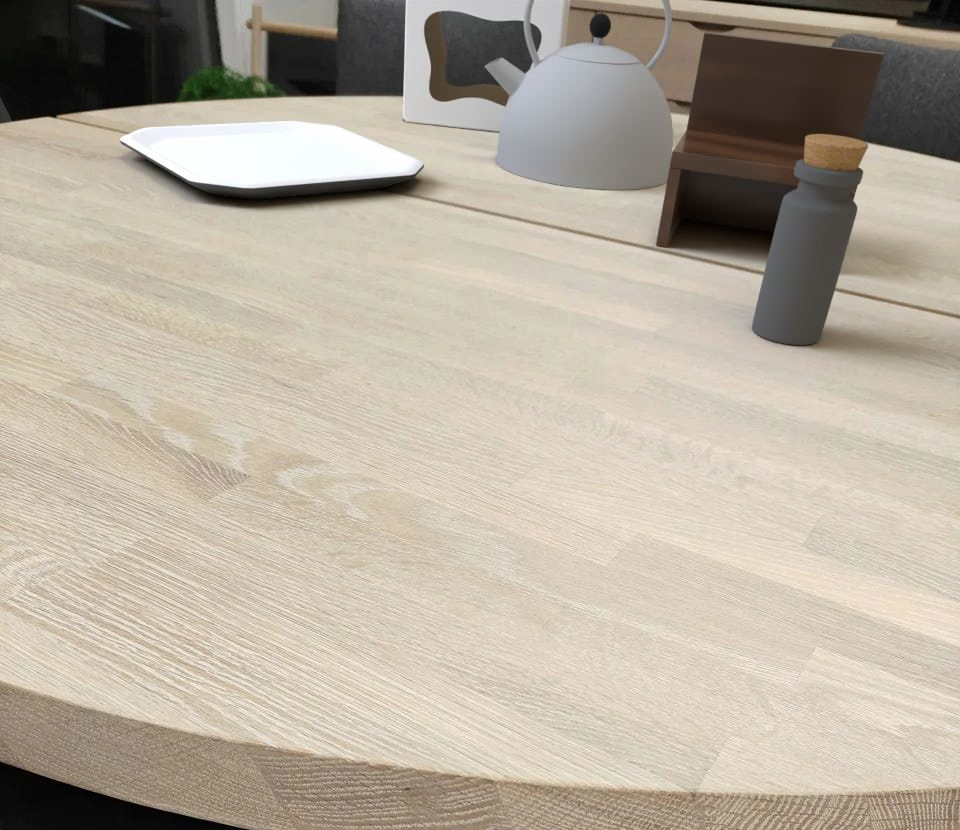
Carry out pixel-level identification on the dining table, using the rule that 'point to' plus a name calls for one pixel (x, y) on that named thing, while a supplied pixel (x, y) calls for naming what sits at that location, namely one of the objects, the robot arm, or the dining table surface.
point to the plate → (272, 158)
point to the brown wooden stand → (760, 126)
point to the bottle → (810, 241)
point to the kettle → (586, 115)
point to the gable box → (428, 57)
